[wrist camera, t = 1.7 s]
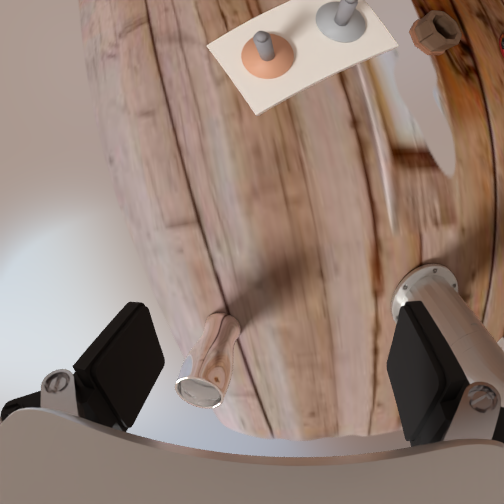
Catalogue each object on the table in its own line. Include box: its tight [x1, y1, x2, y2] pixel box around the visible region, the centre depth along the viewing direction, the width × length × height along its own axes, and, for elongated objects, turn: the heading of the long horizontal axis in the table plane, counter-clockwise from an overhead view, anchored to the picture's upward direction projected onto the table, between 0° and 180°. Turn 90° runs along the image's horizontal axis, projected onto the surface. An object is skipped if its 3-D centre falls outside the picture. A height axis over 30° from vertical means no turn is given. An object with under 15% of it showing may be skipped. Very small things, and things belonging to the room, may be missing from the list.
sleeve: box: [409, 10, 462, 55], centre depth 22 cm, size 6×6×6 cm
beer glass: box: [175, 313, 241, 408], centre depth 40 cm, size 7×7×15 cm
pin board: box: [207, 0, 399, 116], centre depth 24 cm, size 22×12×10 cm, turn 122°
